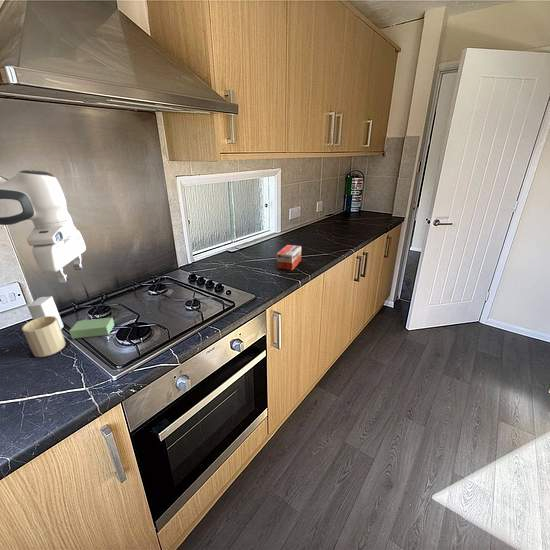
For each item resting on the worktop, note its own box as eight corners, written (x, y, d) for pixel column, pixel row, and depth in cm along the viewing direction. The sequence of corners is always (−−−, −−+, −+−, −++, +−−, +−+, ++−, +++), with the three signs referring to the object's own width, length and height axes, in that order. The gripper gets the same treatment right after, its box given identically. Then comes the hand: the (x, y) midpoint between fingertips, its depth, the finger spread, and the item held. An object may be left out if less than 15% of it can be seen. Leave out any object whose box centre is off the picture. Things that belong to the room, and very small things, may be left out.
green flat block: (71, 338, 94) (69, 331, 92) (80, 328, 99) (77, 321, 98) (108, 334, 95) (106, 326, 94) (114, 324, 101) (112, 317, 100)
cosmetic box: (51, 328, 100) (39, 296, 95) (64, 327, 100) (52, 295, 96) (40, 338, 94) (26, 305, 90) (54, 337, 95) (41, 304, 90)
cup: (27, 358, 85) (15, 332, 82) (42, 342, 92) (32, 317, 89) (57, 355, 86) (47, 329, 83) (70, 338, 94) (61, 314, 90)
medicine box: (292, 270, 141) (292, 255, 138) (276, 268, 144) (276, 253, 140) (301, 260, 154) (301, 245, 150) (287, 258, 156) (286, 244, 153)
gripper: (62, 223, 92) (76, 264, 97) (22, 241, 73) (42, 291, 79) (84, 221, 93) (96, 262, 98) (49, 239, 74) (67, 288, 80)
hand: (71, 275), depth 88 cm, fingers open, 8 cm apart
